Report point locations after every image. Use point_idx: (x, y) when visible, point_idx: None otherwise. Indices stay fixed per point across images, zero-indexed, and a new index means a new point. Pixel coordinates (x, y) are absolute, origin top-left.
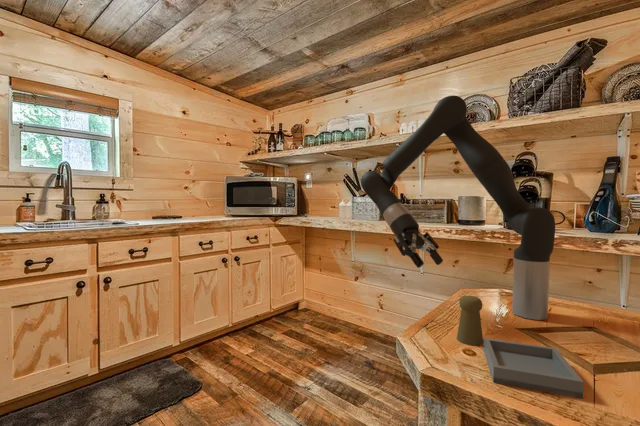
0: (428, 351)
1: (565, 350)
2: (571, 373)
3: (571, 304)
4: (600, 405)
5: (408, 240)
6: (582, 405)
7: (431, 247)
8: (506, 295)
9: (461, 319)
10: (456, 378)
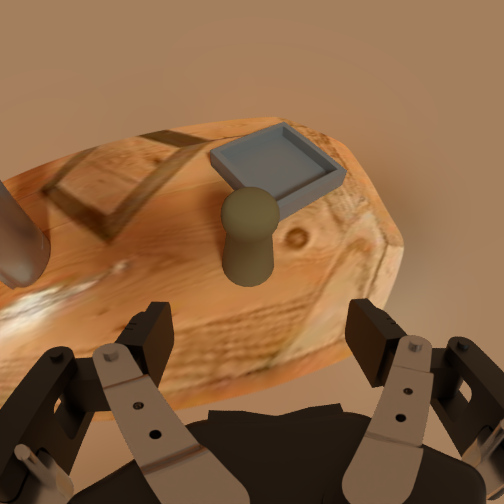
0: (360, 276)
1: (157, 172)
2: (275, 128)
3: None
4: None
5: (433, 452)
6: None
7: (139, 369)
8: None
9: (270, 247)
10: (376, 211)
